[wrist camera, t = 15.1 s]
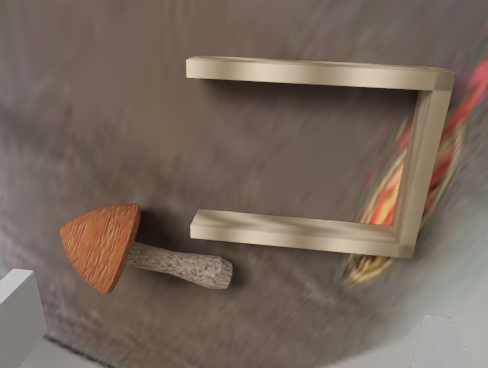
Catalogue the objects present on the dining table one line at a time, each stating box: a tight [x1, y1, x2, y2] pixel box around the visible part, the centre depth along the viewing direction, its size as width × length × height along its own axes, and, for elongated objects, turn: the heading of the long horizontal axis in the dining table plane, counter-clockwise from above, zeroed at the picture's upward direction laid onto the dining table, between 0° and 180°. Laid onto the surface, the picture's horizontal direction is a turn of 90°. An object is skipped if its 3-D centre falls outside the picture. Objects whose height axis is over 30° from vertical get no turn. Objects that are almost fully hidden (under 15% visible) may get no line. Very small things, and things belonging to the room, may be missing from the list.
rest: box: [186, 55, 456, 259], centre depth 31 cm, size 18×14×3 cm
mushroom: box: [60, 204, 233, 295], centre depth 34 cm, size 8×8×15 cm
